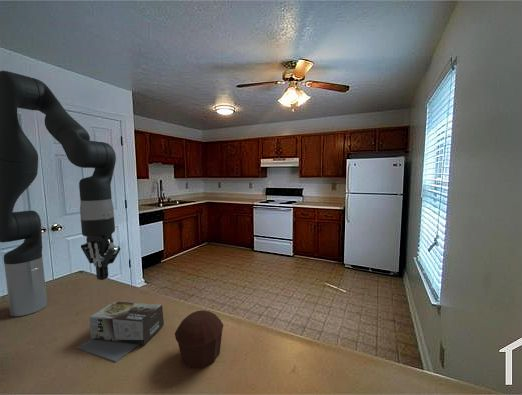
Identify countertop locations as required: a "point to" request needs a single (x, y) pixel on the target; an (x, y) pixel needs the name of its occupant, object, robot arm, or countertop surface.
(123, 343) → the mat
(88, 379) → the countertop surface
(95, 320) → the coffee box
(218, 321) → the muffin
